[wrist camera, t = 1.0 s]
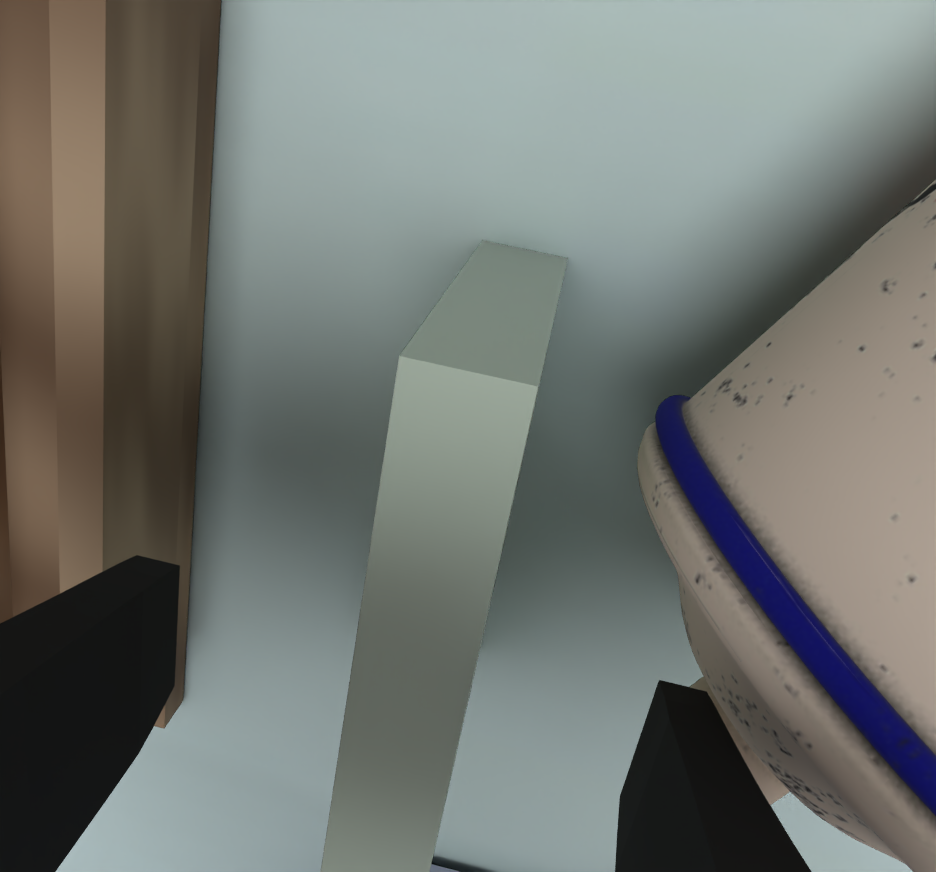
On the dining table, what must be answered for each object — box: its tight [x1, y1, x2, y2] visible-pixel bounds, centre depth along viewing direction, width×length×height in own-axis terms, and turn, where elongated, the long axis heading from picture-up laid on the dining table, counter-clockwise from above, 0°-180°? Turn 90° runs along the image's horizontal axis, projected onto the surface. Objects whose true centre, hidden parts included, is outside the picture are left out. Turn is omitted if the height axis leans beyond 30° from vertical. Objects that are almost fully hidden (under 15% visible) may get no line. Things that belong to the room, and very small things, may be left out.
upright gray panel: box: [321, 240, 568, 872], centre depth 15 cm, size 9×2×7 cm, turn 170°
